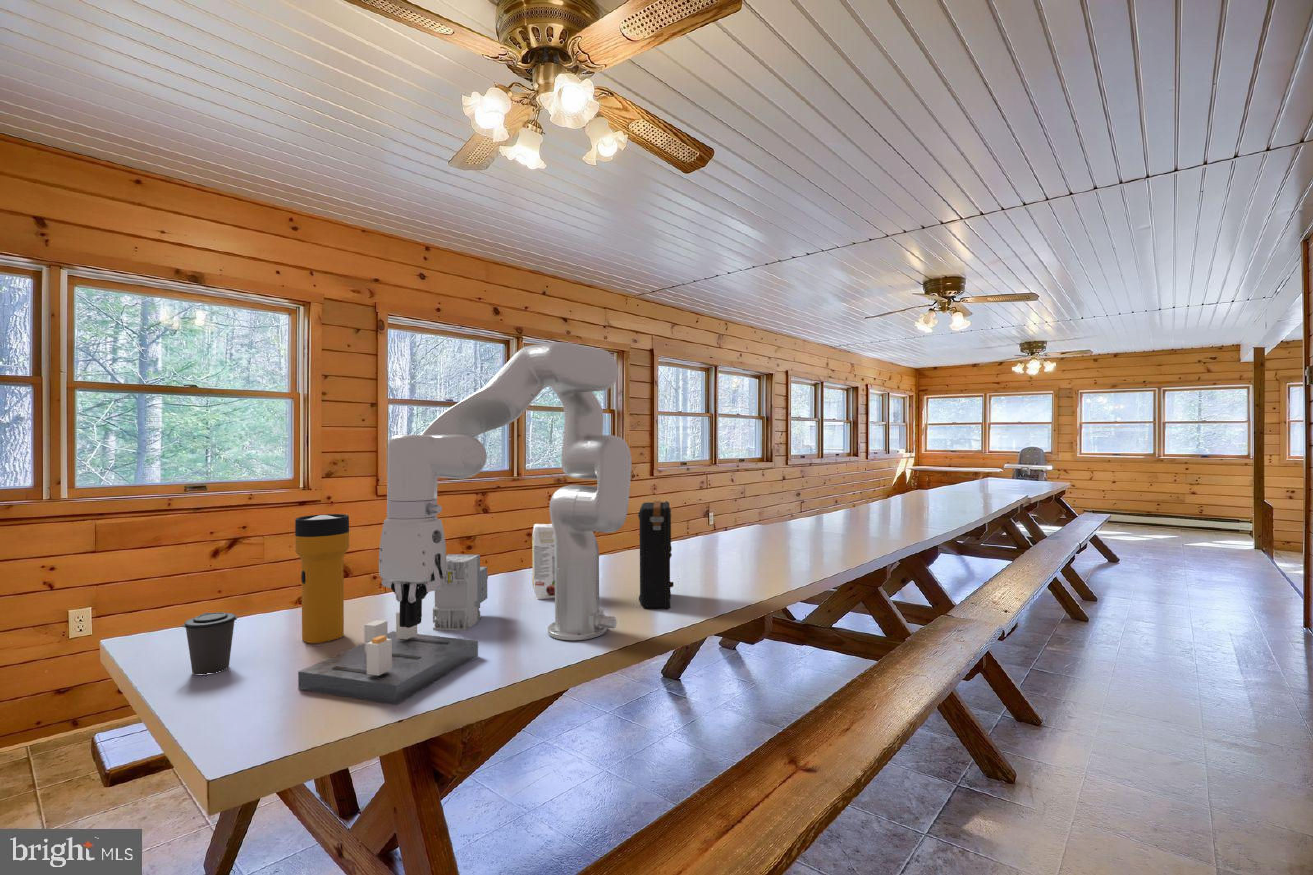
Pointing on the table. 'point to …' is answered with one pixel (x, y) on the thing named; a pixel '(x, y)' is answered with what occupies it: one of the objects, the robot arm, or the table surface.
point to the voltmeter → (655, 554)
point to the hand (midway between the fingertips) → (410, 624)
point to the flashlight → (322, 574)
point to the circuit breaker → (460, 593)
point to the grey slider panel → (410, 671)
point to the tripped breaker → (379, 655)
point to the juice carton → (543, 561)
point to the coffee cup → (210, 641)
